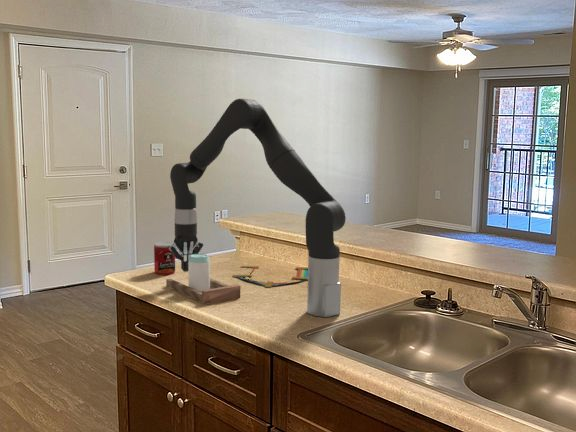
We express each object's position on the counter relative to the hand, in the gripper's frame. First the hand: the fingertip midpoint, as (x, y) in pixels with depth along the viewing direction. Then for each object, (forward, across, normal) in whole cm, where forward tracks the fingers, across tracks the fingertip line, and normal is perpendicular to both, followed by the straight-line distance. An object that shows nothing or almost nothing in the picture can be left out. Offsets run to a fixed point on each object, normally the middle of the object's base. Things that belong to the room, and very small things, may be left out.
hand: (185, 271), depth 213 cm
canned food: (+5, +2, +20) cm, 21 cm away
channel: (+5, 0, -11) cm, 12 cm away
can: (+5, 0, -9) cm, 10 cm away
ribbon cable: (+5, +31, -8) cm, 32 cm away
